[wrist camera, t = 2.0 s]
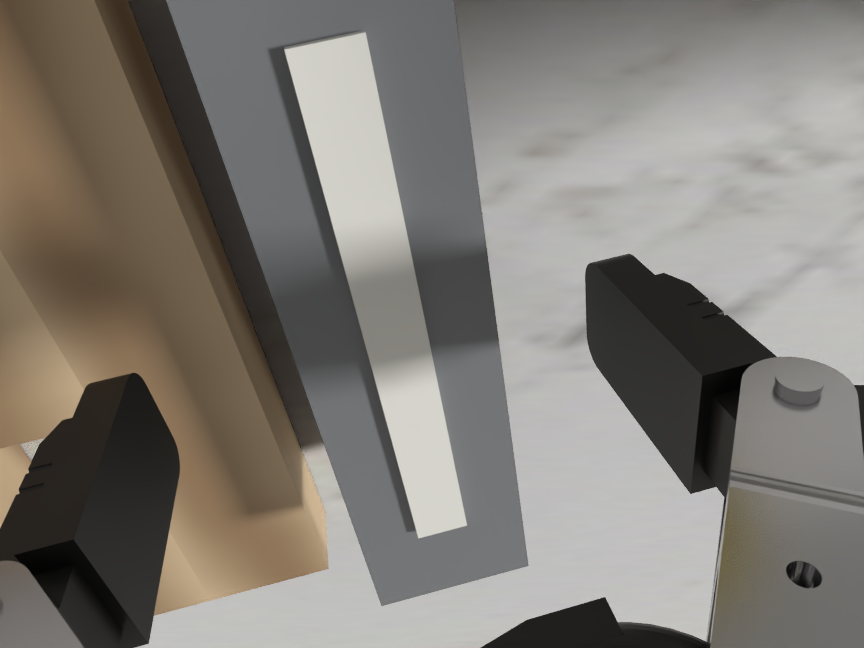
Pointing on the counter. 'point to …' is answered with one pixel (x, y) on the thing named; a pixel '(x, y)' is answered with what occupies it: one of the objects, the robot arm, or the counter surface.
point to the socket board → (136, 299)
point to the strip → (373, 264)
